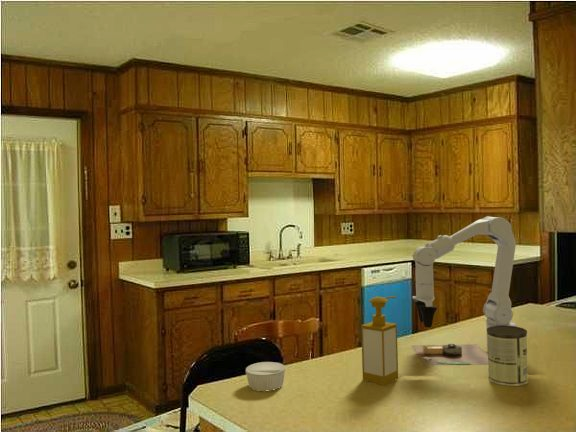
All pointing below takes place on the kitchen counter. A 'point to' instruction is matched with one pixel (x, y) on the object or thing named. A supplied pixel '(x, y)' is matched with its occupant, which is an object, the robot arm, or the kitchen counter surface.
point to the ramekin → (265, 375)
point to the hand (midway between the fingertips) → (425, 324)
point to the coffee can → (507, 355)
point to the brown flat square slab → (469, 356)
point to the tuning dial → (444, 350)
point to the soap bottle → (379, 347)
